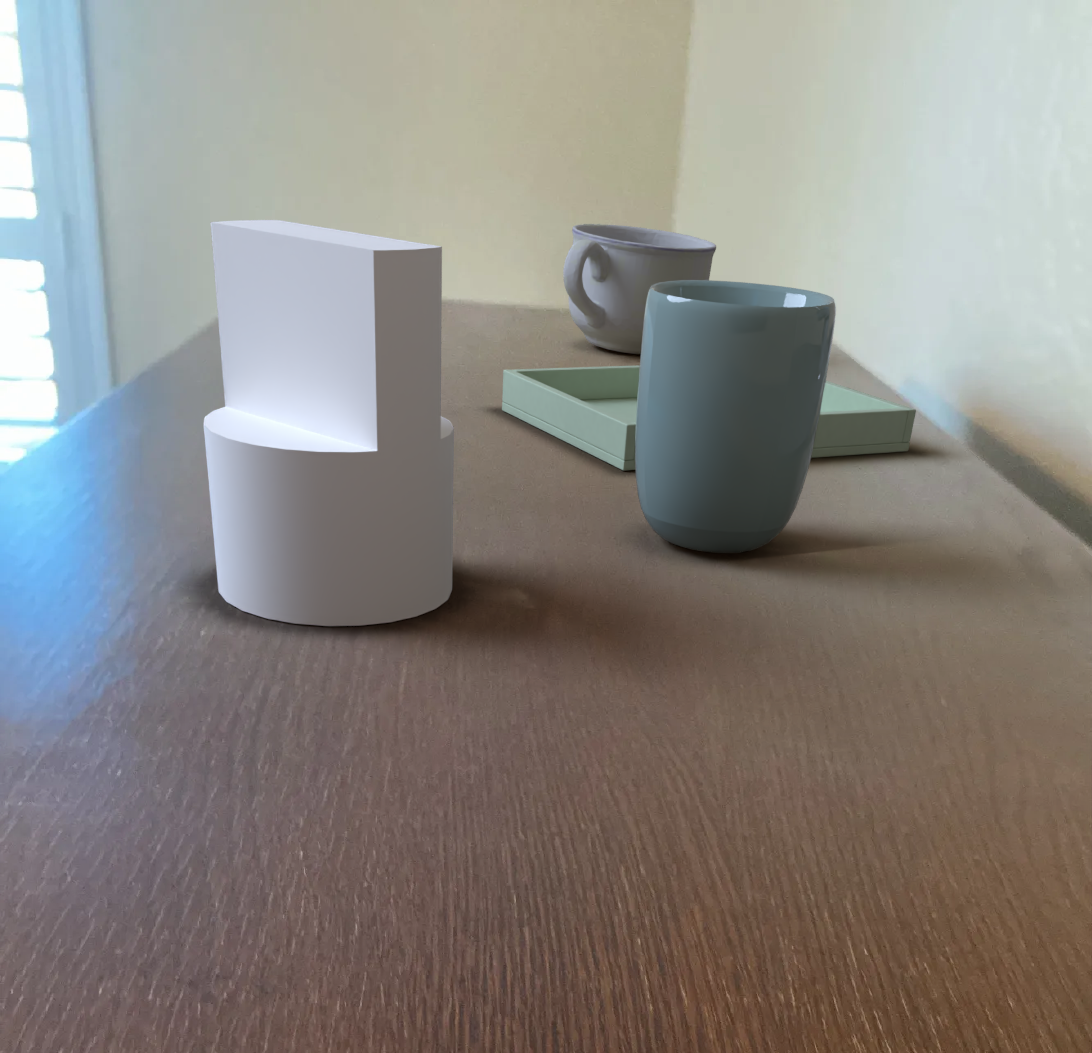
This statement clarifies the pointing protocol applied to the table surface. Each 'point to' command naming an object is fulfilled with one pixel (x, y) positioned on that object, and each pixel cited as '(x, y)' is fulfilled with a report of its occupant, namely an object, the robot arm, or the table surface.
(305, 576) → the cylinder with rectangular tab
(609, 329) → the teacup
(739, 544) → the cup
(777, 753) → the table surface
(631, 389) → the tray
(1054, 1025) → the table surface
